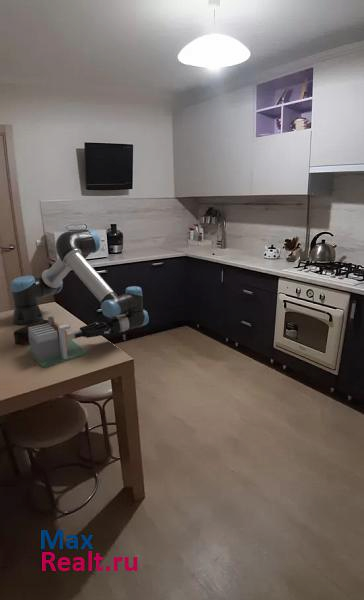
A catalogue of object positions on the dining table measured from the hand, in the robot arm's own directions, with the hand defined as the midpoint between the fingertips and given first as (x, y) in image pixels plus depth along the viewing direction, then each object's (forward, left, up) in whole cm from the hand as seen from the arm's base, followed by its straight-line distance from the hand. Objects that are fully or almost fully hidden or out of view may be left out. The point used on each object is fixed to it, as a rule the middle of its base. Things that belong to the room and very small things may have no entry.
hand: (66, 337), depth 148 cm
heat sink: (-5, -3, -8) cm, 10 cm away
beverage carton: (-29, -5, -9) cm, 31 cm away
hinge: (-5, -1, -7) cm, 9 cm away
